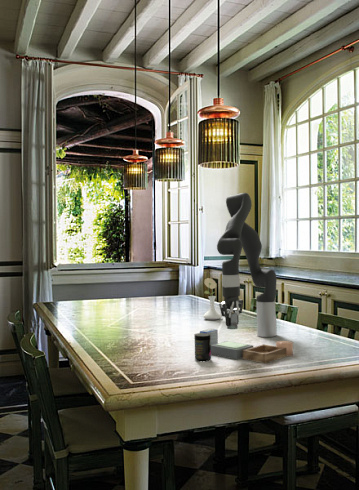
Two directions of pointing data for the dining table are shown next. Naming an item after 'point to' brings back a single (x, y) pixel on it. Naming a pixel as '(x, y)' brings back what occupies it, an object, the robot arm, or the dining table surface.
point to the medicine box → (212, 335)
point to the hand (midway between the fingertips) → (232, 325)
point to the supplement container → (202, 346)
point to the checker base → (229, 351)
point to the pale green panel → (231, 345)
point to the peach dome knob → (286, 346)
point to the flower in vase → (211, 301)
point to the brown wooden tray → (264, 353)
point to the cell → (233, 321)
